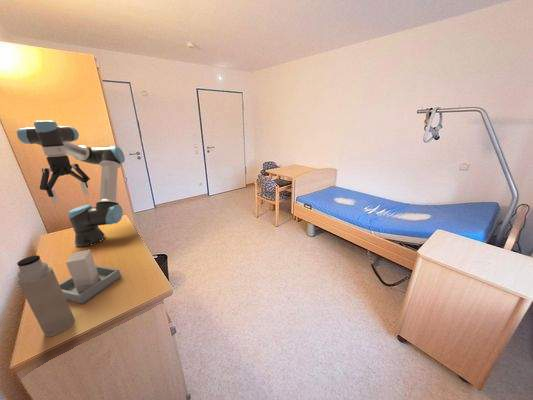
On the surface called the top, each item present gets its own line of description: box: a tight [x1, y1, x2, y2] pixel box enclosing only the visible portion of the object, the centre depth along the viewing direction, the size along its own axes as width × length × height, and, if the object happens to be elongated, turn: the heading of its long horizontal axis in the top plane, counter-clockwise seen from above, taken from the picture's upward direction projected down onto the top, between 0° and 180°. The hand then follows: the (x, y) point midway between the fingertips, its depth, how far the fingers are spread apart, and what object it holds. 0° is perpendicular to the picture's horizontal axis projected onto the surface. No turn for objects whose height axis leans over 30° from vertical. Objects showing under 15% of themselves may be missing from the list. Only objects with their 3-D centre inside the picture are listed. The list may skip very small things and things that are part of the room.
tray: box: [59, 264, 122, 306], centre depth 95 cm, size 17×17×4 cm
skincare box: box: [65, 248, 100, 293], centre depth 92 cm, size 8×7×16 cm
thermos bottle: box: [16, 255, 75, 337], centre depth 71 cm, size 8×8×28 cm
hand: (72, 198), depth 107 cm, fingers open, 13 cm apart
